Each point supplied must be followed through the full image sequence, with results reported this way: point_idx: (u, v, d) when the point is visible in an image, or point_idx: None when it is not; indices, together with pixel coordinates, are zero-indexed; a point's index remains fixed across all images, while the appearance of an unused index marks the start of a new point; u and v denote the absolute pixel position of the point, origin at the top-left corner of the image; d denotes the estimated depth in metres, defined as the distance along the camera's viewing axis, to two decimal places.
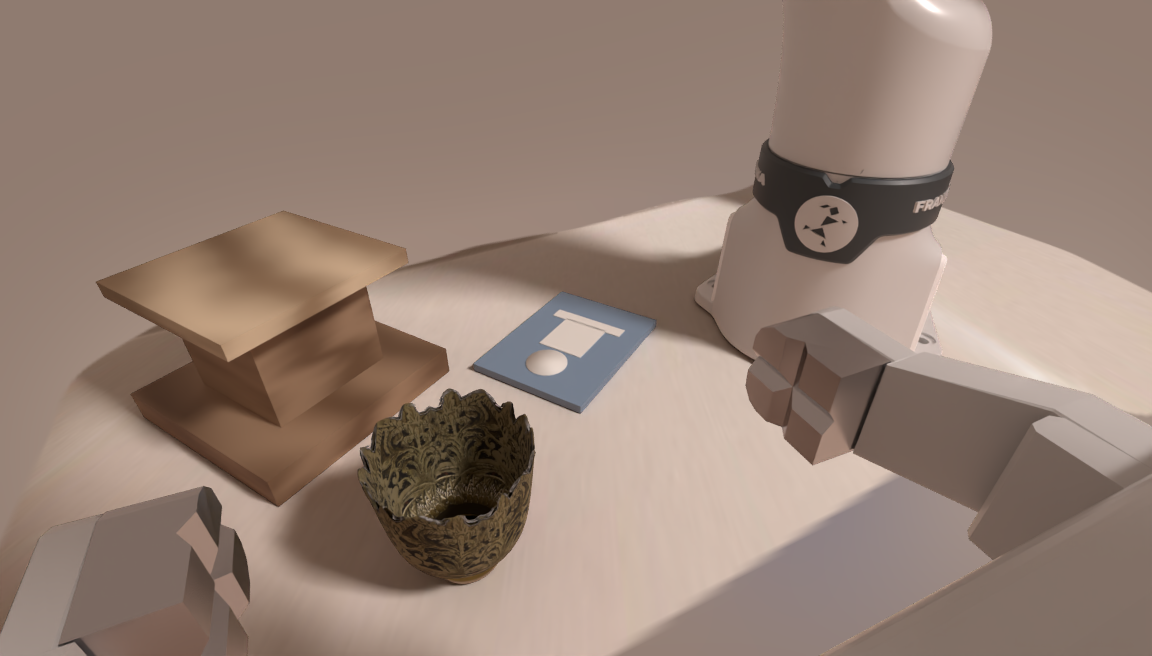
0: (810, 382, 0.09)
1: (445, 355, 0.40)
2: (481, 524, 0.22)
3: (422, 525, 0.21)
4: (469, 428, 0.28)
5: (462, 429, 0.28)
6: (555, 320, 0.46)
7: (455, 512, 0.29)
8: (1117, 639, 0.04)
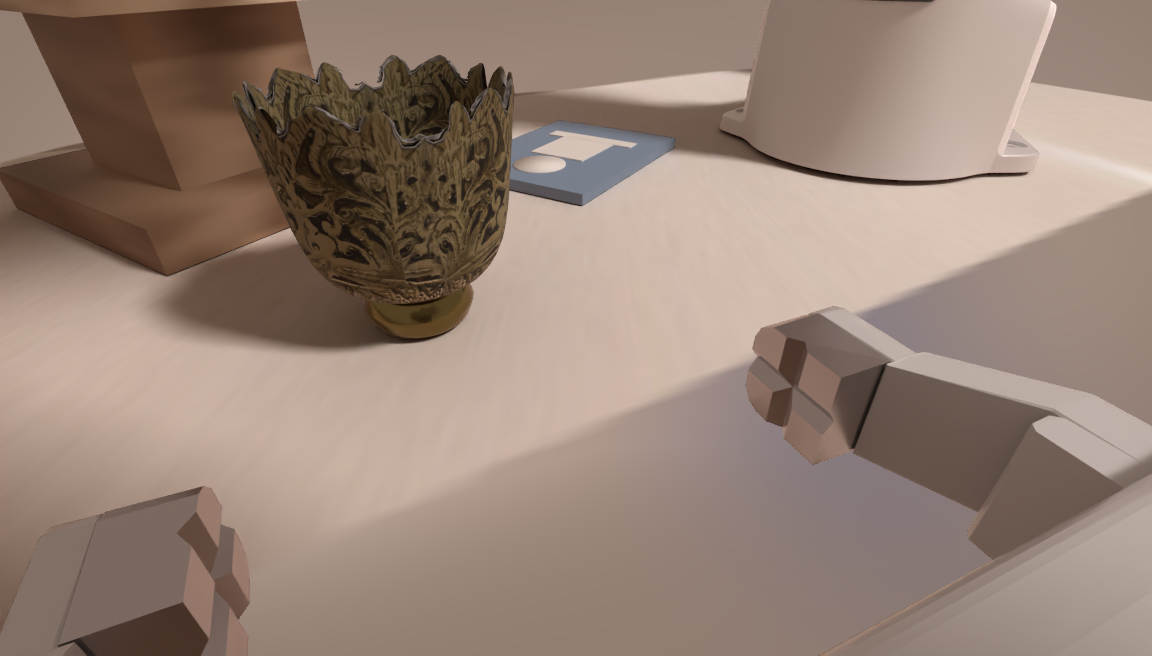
0: (810, 382, 0.09)
1: None
2: (423, 152, 0.14)
3: (322, 131, 0.13)
4: (423, 127, 0.20)
5: (414, 129, 0.20)
6: (551, 137, 0.37)
7: None
8: (1117, 639, 0.04)
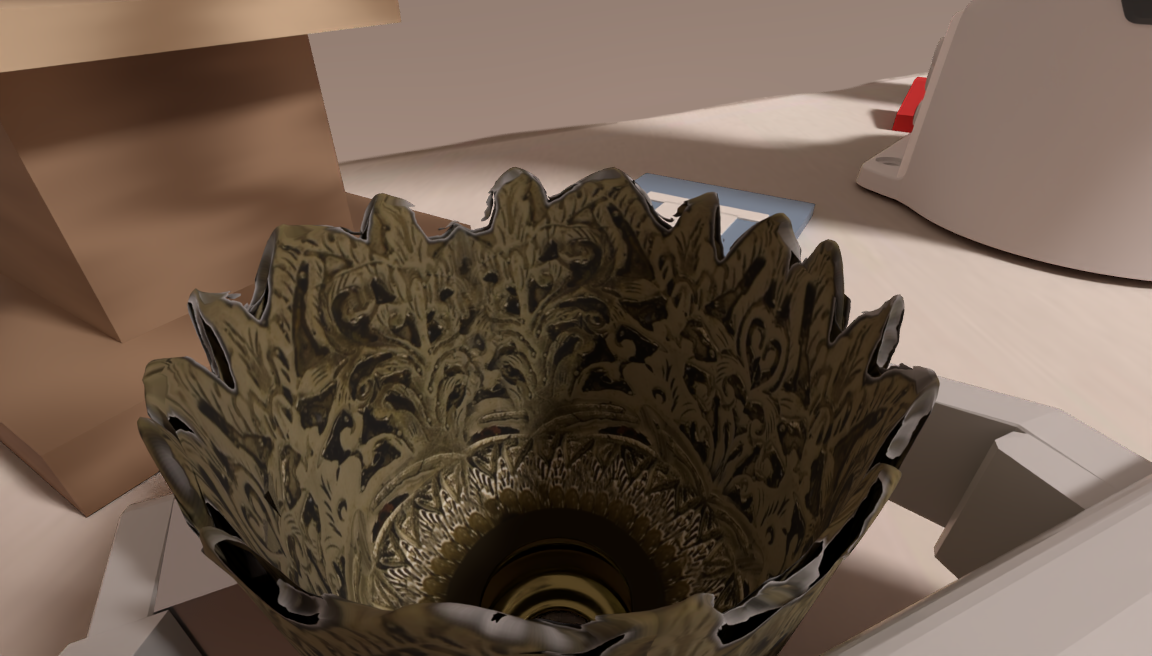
0: None
1: None
2: (767, 629, 0.04)
3: None
4: (565, 299, 0.10)
5: (545, 303, 0.10)
6: None
7: (521, 535, 0.11)
8: (1117, 639, 0.04)
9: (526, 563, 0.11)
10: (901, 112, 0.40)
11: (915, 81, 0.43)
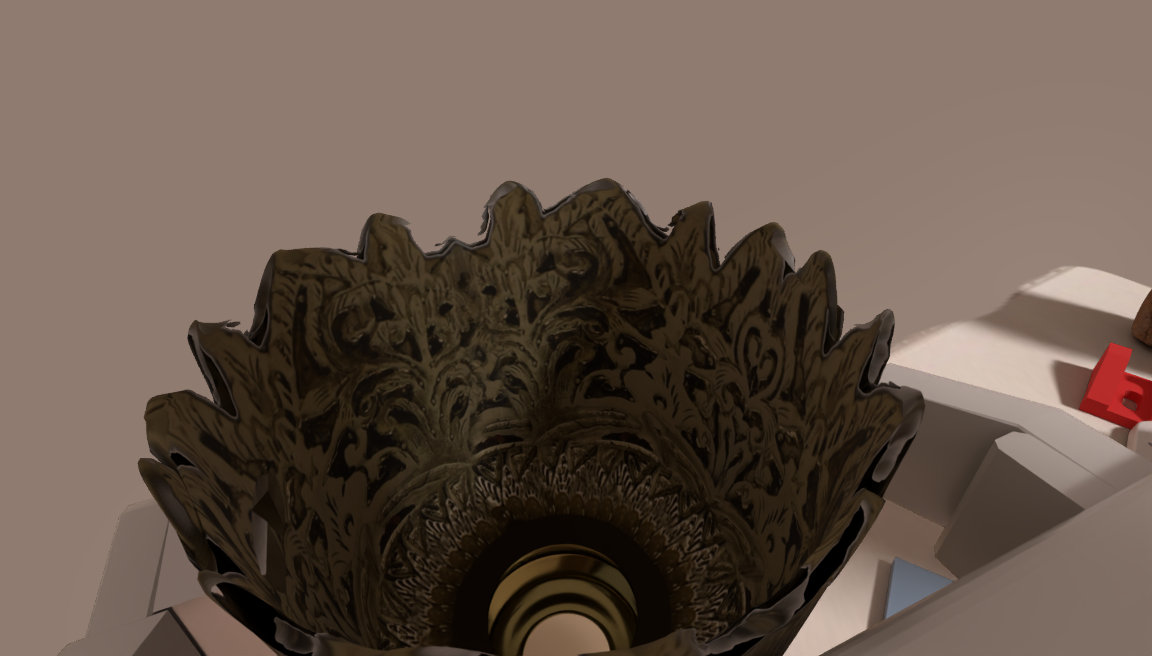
0: None
1: None
2: (753, 653, 0.04)
3: None
4: (563, 308, 0.10)
5: (544, 312, 0.10)
6: None
7: (527, 542, 0.11)
8: (1117, 639, 0.04)
9: (534, 569, 0.12)
10: (1092, 396, 0.40)
11: (1109, 353, 0.42)
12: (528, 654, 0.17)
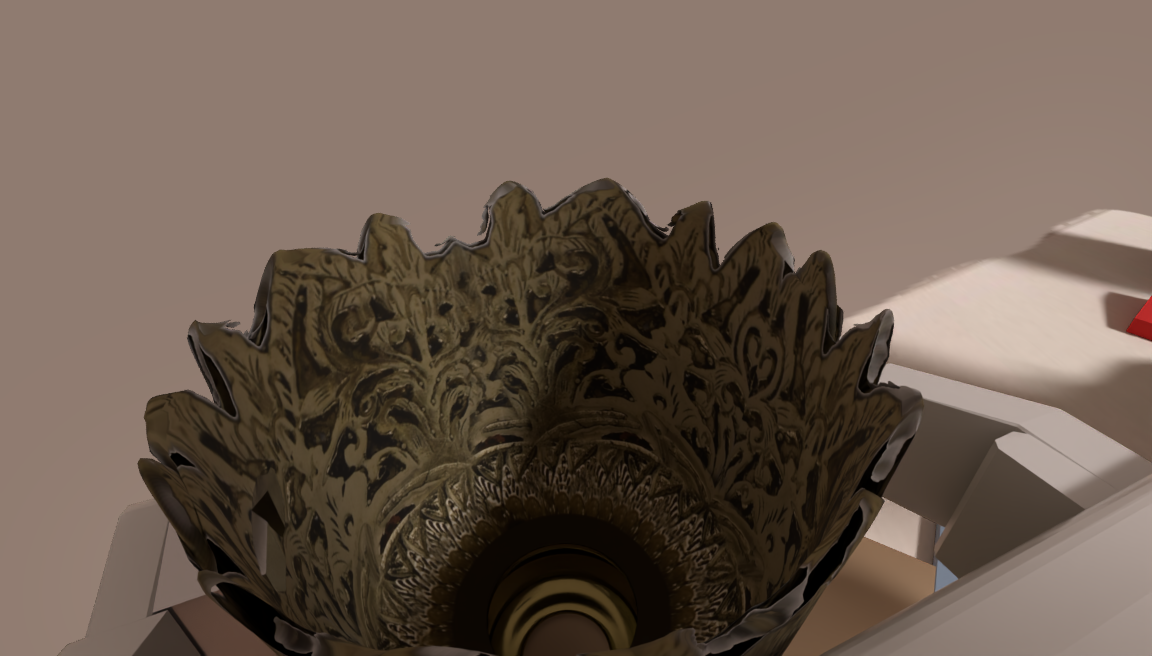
0: None
1: None
2: (753, 653, 0.04)
3: None
4: (563, 308, 0.10)
5: (544, 312, 0.10)
6: None
7: (527, 542, 0.11)
8: (1117, 639, 0.04)
9: (534, 569, 0.12)
10: (1141, 316, 0.37)
11: None
12: None
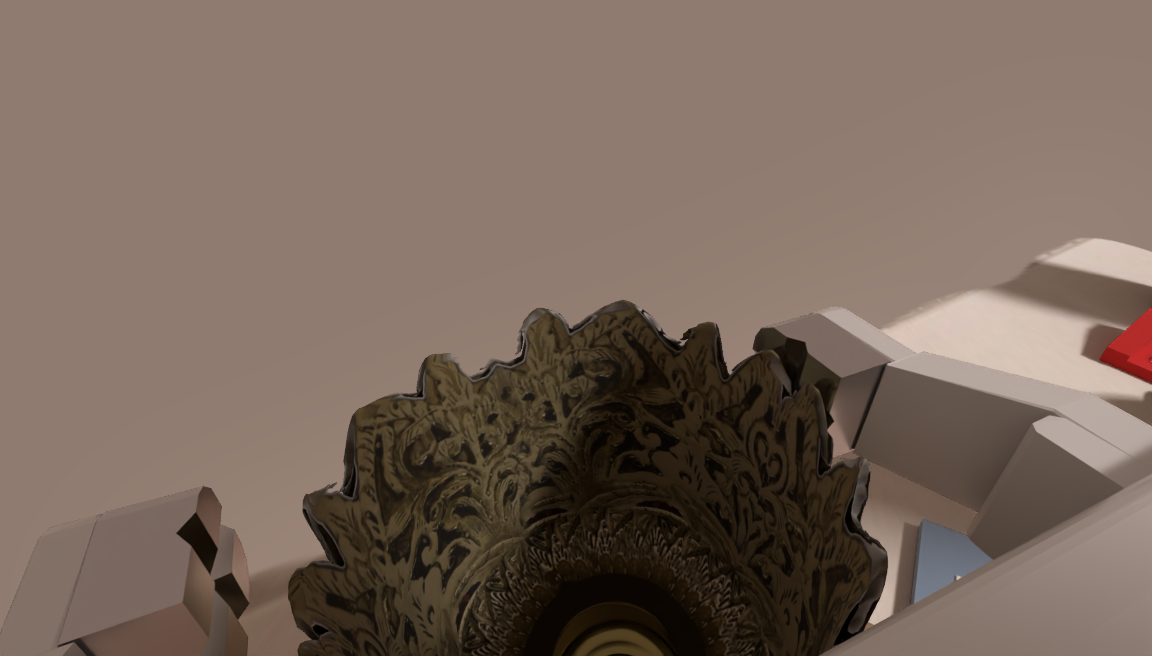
0: (810, 382, 0.09)
1: None
2: None
3: None
4: (594, 404, 0.11)
5: (577, 409, 0.12)
6: None
7: (579, 602, 0.12)
8: (1117, 639, 0.04)
9: (586, 619, 0.13)
10: (1114, 346, 0.39)
11: (1149, 311, 0.40)
12: None
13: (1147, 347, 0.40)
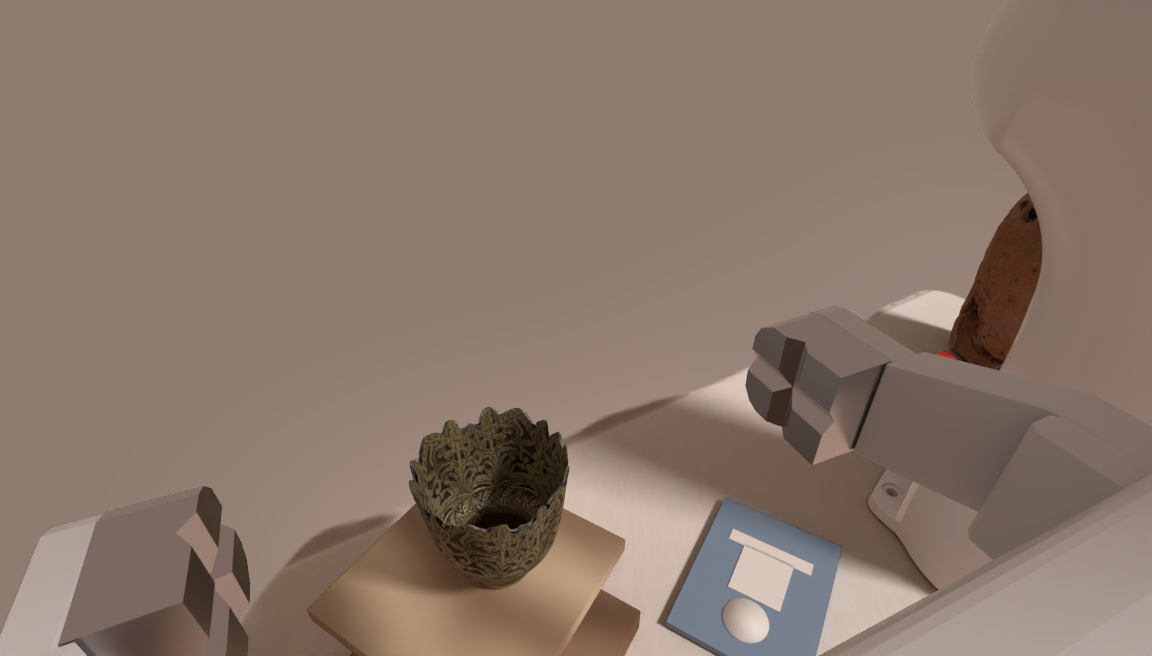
0: (810, 382, 0.09)
1: (639, 617, 0.37)
2: (521, 533, 0.24)
3: (470, 533, 0.24)
4: (505, 443, 0.30)
5: (498, 444, 0.30)
6: (733, 546, 0.42)
7: (490, 522, 0.31)
8: (1117, 639, 0.04)
9: None
10: None
11: None
12: None
13: None
